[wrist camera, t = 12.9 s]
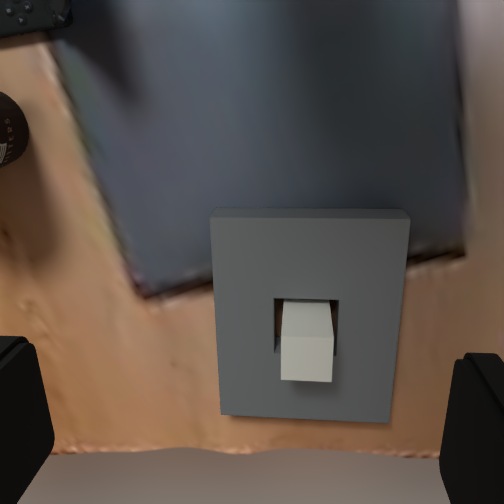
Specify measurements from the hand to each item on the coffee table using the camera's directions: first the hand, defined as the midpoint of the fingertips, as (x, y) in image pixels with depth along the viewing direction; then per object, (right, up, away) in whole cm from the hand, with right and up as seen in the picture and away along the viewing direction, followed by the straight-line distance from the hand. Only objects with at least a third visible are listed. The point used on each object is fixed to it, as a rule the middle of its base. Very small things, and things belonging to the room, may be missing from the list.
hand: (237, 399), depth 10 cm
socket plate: (+5, -2, +33) cm, 33 cm away
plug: (+5, -2, +33) cm, 33 cm away
